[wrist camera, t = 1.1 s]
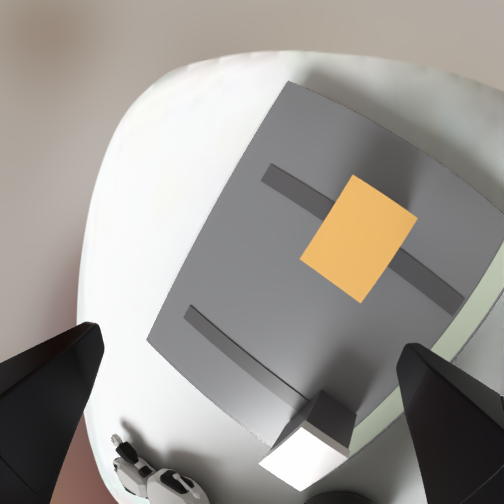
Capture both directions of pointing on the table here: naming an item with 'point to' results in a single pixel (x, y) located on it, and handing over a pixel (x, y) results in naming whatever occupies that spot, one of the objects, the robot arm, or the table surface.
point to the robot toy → (154, 479)
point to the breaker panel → (317, 286)
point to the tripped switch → (358, 238)
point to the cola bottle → (338, 499)
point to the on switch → (312, 442)
